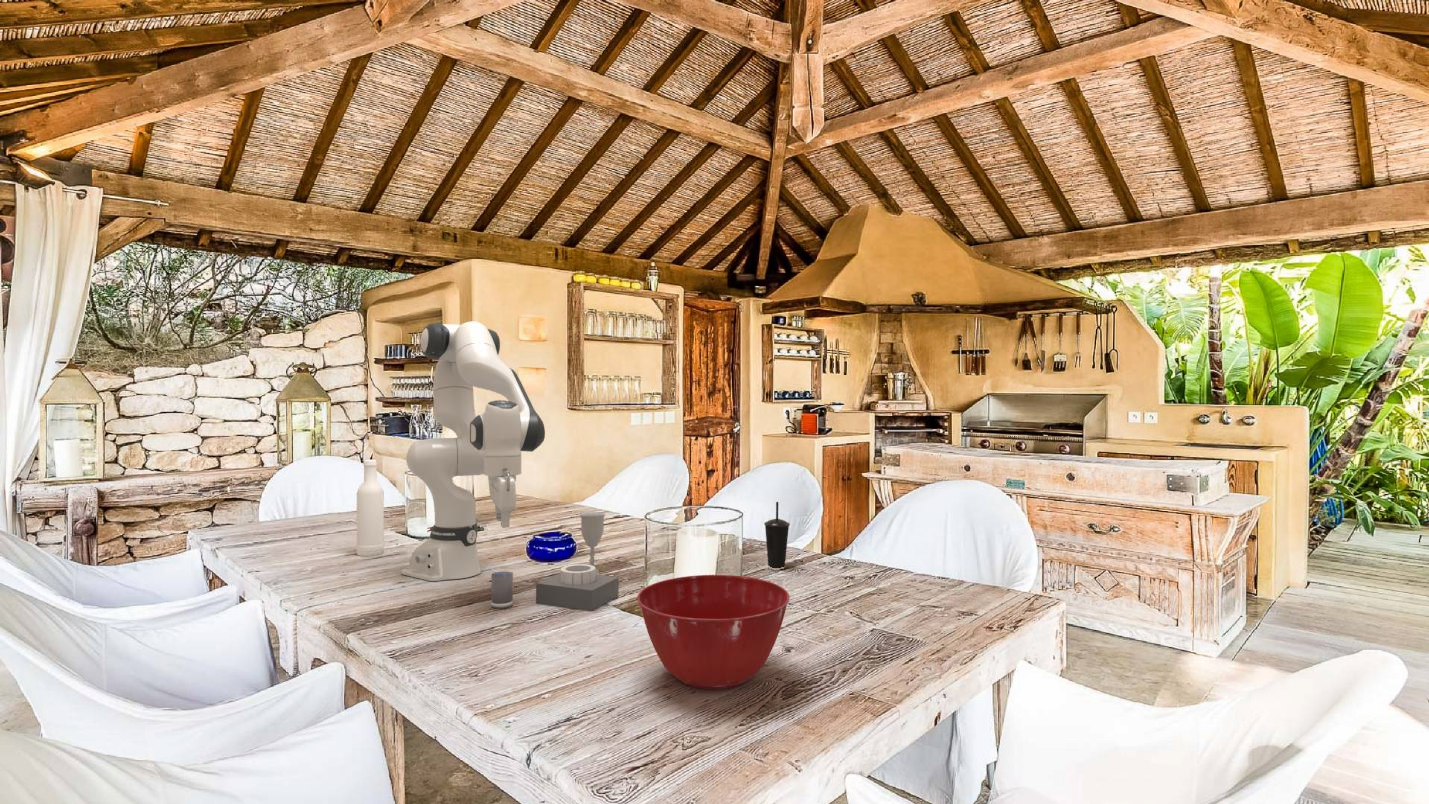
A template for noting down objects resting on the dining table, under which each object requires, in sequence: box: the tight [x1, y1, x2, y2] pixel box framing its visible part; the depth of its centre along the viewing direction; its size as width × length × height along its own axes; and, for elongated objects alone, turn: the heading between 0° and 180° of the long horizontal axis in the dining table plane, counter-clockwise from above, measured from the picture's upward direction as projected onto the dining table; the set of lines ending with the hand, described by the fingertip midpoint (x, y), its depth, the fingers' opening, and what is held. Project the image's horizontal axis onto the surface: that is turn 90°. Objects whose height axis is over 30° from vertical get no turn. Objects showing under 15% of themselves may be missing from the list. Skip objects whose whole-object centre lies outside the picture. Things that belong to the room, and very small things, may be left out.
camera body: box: [535, 563, 620, 612], centre depth 182 cm, size 16×13×8 cm
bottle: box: [356, 459, 385, 557], centre depth 230 cm, size 8×8×30 cm
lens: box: [490, 571, 514, 610], centre depth 176 cm, size 5×5×8 cm
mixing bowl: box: [637, 574, 791, 690], centre depth 135 cm, size 28×28×16 cm
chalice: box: [578, 511, 606, 575], centre depth 203 cm, size 7×7×18 cm
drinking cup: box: [764, 501, 791, 568], centre depth 216 cm, size 8×8×20 cm
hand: (502, 523), depth 176 cm, fingers open, 8 cm apart
